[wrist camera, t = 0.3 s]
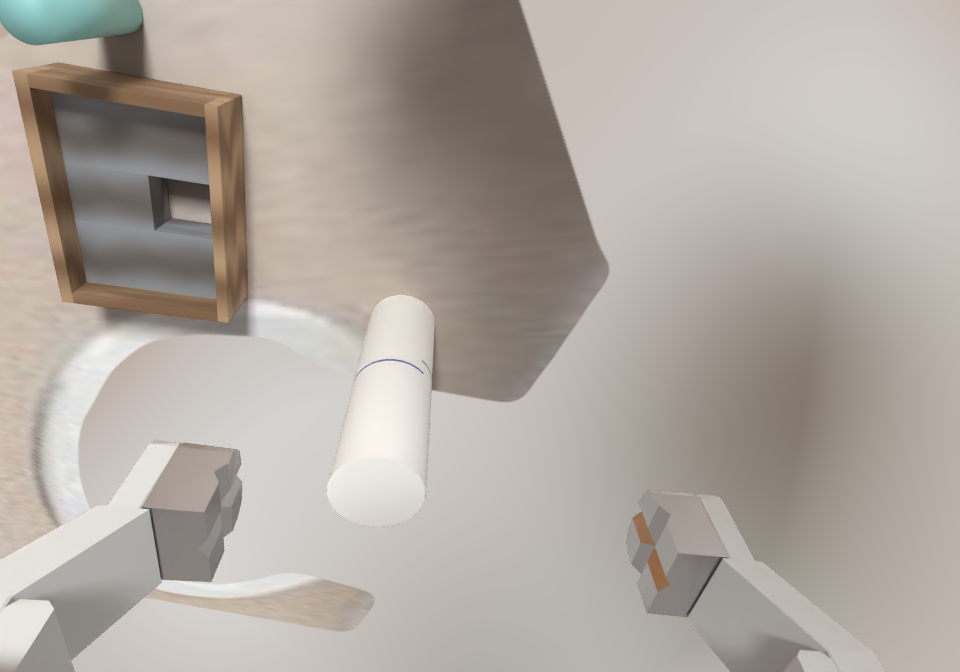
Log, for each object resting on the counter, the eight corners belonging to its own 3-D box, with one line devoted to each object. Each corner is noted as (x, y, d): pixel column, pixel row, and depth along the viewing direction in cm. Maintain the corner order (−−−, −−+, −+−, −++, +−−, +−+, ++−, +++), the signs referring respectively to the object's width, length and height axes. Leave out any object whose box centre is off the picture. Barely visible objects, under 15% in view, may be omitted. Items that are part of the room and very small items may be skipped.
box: (58, 62, 49) (12, 70, 43) (241, 95, 50) (217, 106, 45) (96, 274, 59) (62, 301, 53) (247, 294, 60) (228, 323, 55)
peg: (92, -21, 46) (-13, -26, 35) (139, -12, 46) (49, -14, 36) (99, 29, 47) (1, 39, 37) (145, 37, 48) (60, 50, 38)
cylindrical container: (396, 282, 60) (365, 441, 39) (448, 320, 63) (445, 488, 42) (356, 327, 63) (307, 499, 42) (408, 361, 66) (386, 540, 44)
